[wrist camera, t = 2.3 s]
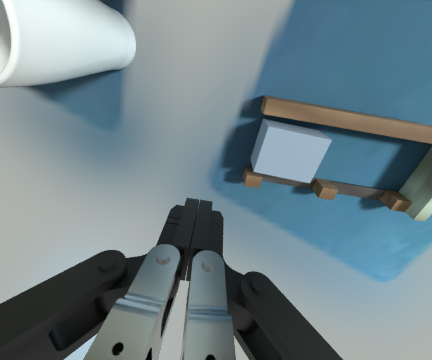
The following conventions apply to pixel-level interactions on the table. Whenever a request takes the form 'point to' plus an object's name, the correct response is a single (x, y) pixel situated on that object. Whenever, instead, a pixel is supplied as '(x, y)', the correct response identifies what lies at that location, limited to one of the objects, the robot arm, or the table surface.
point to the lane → (423, 174)
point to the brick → (288, 150)
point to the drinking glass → (61, 40)
